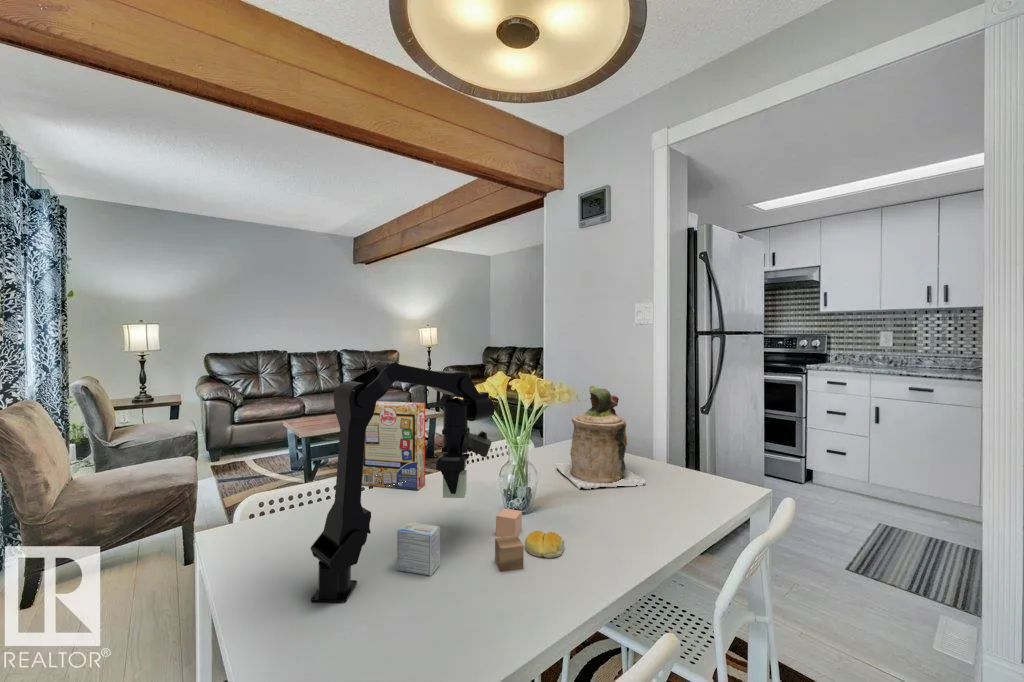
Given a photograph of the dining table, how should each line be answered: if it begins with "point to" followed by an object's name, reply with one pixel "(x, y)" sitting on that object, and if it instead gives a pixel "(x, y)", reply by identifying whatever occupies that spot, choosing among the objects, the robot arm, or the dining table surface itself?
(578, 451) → the cookie jar
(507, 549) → the walnut cube
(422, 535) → the medicine box
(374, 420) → the board game box
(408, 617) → the dining table surface
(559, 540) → the bread roll
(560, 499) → the dining table surface
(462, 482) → the sage cube
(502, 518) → the terracotta cube
